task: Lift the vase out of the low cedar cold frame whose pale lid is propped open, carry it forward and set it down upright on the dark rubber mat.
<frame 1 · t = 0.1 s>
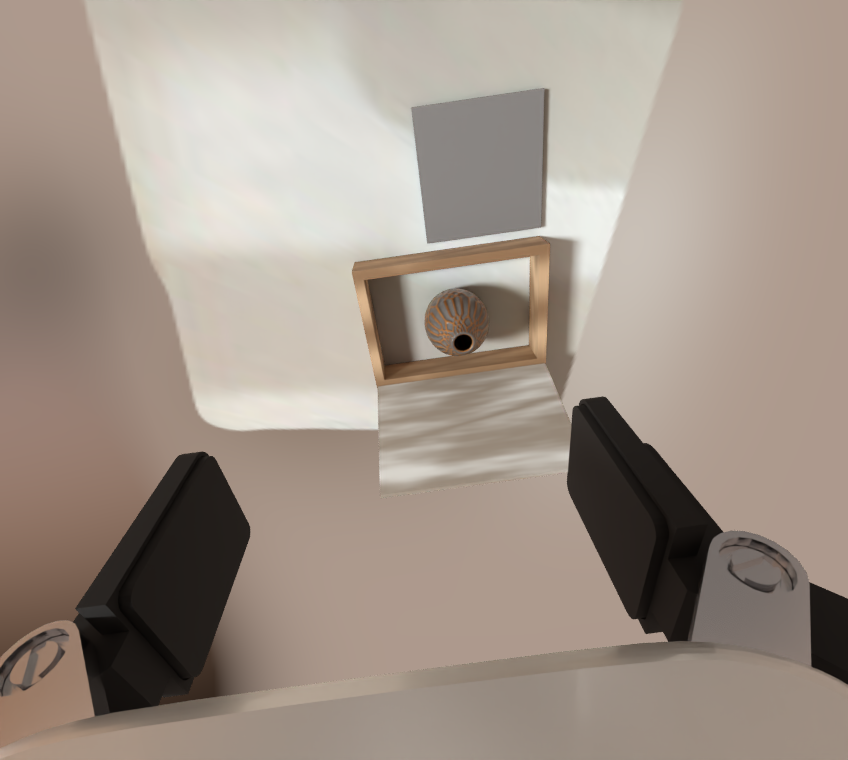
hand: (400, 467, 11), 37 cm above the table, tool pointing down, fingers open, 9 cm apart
cold frame: (452, 310, 48), on the table
mat: (480, 171, 40), on the table
vase: (452, 309, 48), resting in cold frame
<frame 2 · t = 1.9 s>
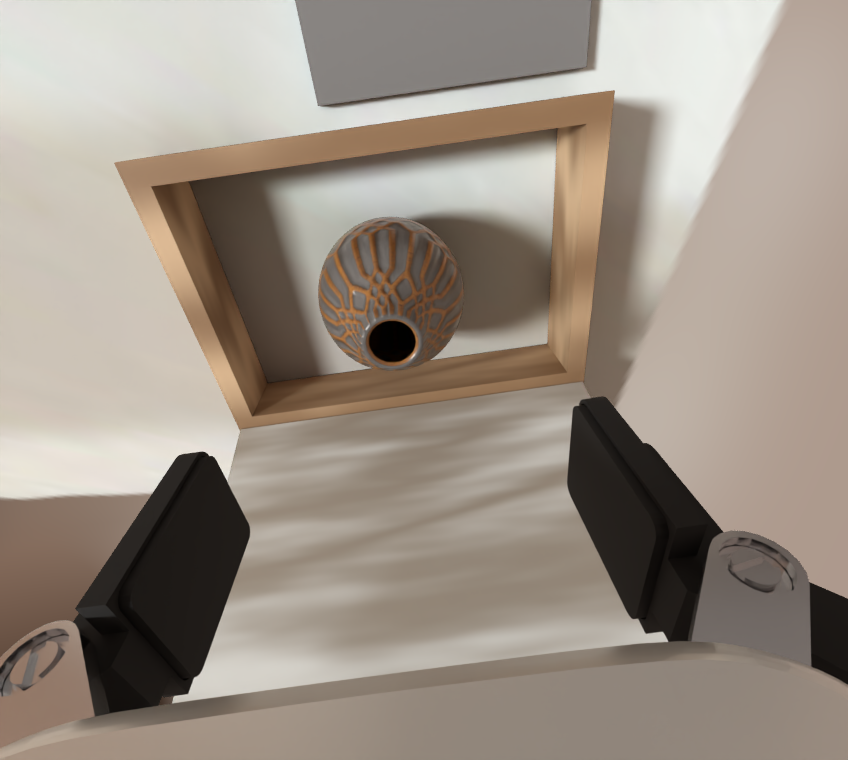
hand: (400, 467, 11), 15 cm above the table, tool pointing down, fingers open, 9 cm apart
cold frame: (391, 271, 23), on the table
vase: (391, 270, 23), resting in cold frame
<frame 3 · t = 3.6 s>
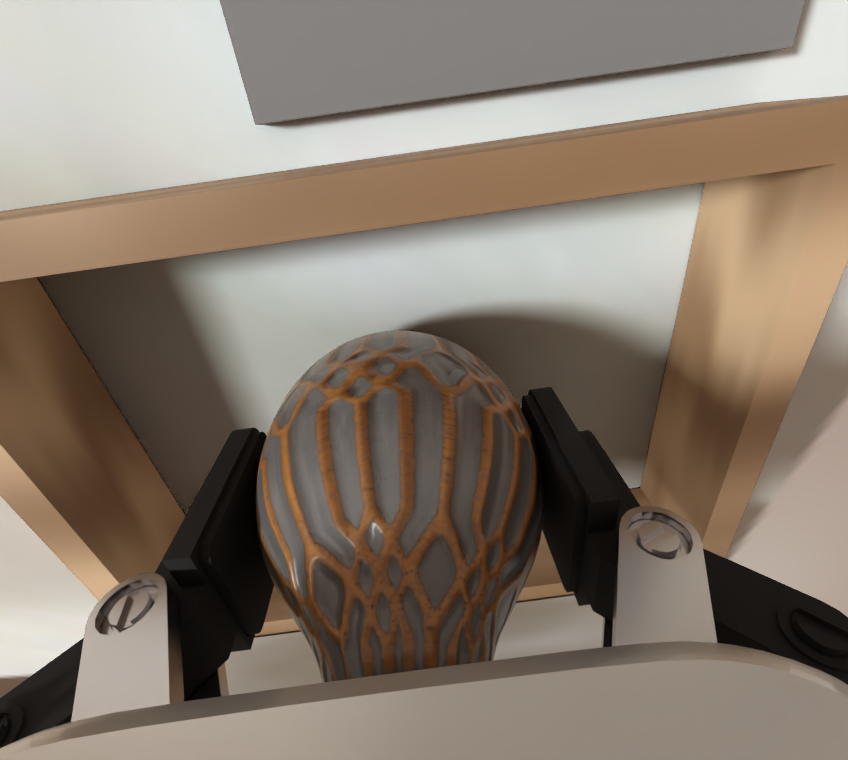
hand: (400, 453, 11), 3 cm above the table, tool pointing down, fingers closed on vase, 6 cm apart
cold frame: (398, 396, 14), on the table
vase: (399, 393, 14), resting in cold frame, touching gripper
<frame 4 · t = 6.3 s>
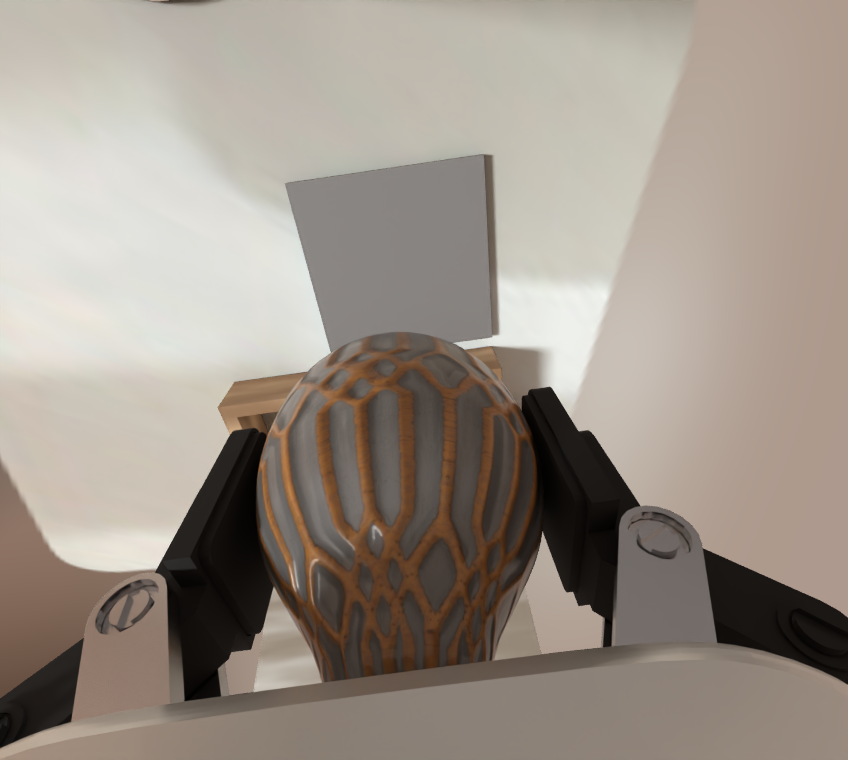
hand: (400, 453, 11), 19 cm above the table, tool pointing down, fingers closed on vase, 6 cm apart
cold frame: (378, 435, 35), on the table
mat: (399, 266, 28), on the table
vase: (399, 394, 14), point 16 cm above the table, touching gripper
when the fingers open (5 cm above the table, at t = 9.1 s): vase drops 1 cm, resting on mat.
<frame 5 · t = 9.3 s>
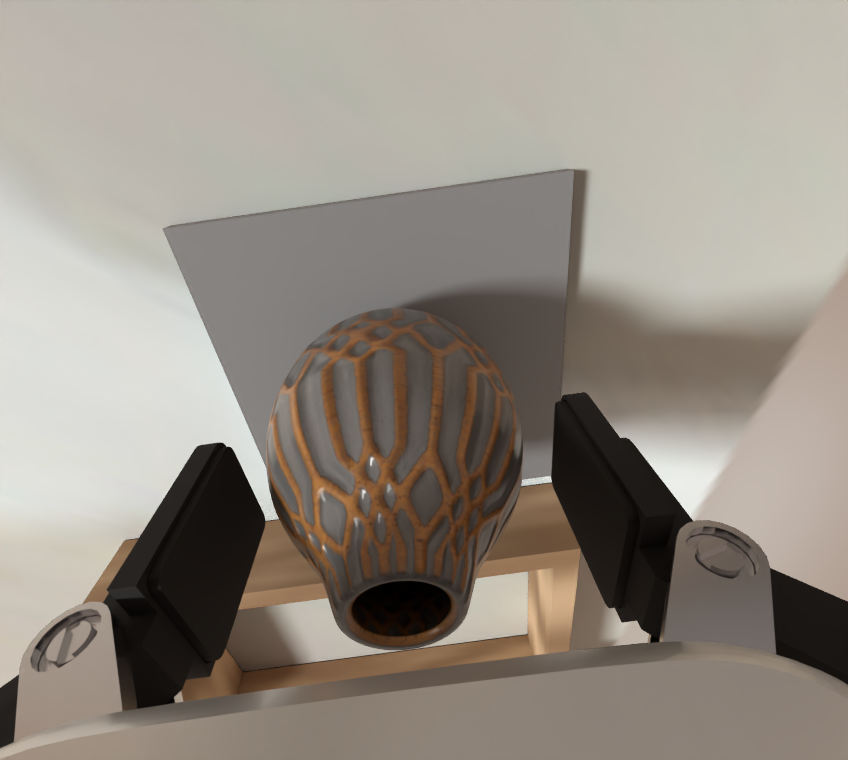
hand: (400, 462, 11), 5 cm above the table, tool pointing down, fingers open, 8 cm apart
cold frame: (366, 598, 23), on the table
mat: (399, 370, 15), on the table
vase: (395, 372, 15), resting on mat
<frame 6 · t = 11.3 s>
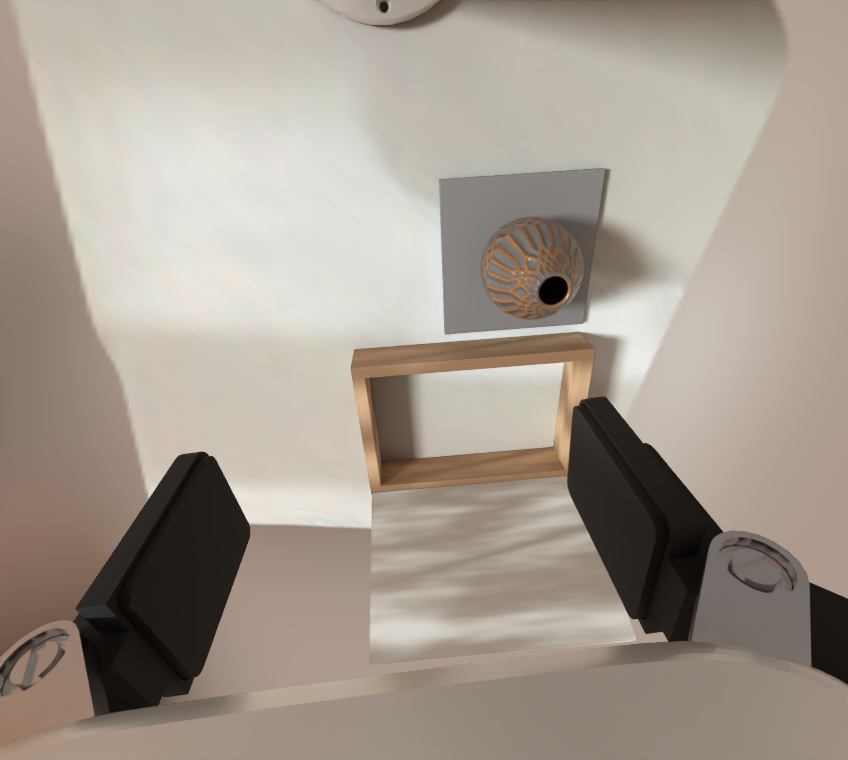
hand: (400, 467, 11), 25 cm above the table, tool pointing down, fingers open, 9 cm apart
cold frame: (467, 406, 40), on the table
mat: (516, 257, 33), on the table
vase: (516, 256, 33), resting on mat
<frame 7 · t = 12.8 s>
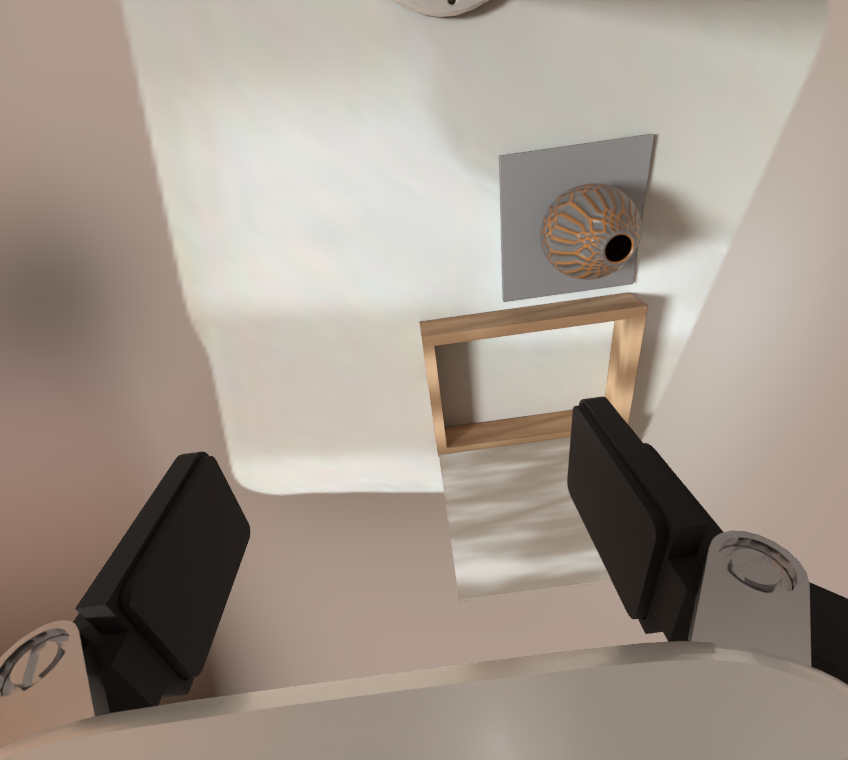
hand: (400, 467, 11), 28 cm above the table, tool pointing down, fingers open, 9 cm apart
cold frame: (523, 370, 43), on the table
mat: (570, 224, 35), on the table
vase: (570, 223, 35), resting on mat
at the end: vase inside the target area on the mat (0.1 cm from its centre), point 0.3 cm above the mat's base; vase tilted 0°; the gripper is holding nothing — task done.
